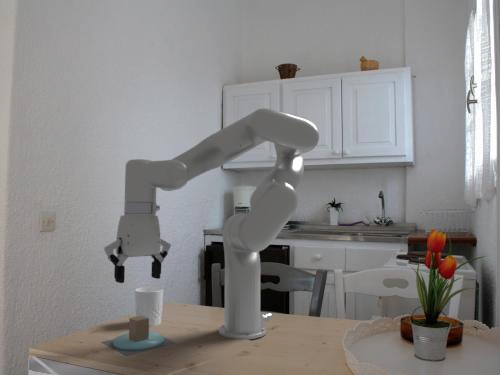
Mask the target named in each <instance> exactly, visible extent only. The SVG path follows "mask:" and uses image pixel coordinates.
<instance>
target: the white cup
mask: <svg viewBox="0 0 500 375" xmlns="http://www.w3.org/2000/svg"><path fill="white" fill-rule="evenodd" d="M134 300H135V301H134V302H135V303H134V305H135V317H137V316H144V317H147V318H149V327H155V326H158V325H160V324H162V315H163V302H164V288H163V287H161V286H143V287H137V288H135V289H134Z"/></svg>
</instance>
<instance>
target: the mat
mask: <svg viewBox="0 0 500 375" xmlns="http://www.w3.org/2000/svg"><path fill="white" fill-rule="evenodd" d="M149 332H151V331H150V330H149ZM114 339H115V338H113V339H108V340H104V341H103V340H102V341H101V343H102V344H104V345H105V346H107V347H110V348H111V349H113V350H115V351H117V352H118V353H120V354H122V355H124V356H126V357H129V356H132V355H137V354H139V353H140V354H141V353H144V352H147V351H148V352H149V351H152V350H155V349H159V348H162V347H166V346H170V345H174V344H177V342H176V341H174V340H171V339H168V338H167V337H164V342H163V344H161V345H160V346H157V347H155V348H151V349H146V350H139V351H126V350H119V349H117V348H115V347H114V346H113V340H114Z"/></svg>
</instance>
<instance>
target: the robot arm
mask: <svg viewBox="0 0 500 375" xmlns="http://www.w3.org/2000/svg"><path fill="white" fill-rule="evenodd" d="M319 140H320V132H319V130H318V128H317V126H316V125H315V124H314V123H313V122H311V121H309V120H307V119H305V118H301V117H298V116H295V115H291V114H288V113H286V112H285V113H284V112H282V111H278V110H276V109H275V110H274V109H270V108H258V109H256V110H255V111H253V112H251V113H250V114H247V115H246V116H244V117H242V118H239V119H238V120H237V121H235V122H233V123H231V124H229V125H228V126H225V127H224V128H222V129H219V130H218V131H216V132H214V133H212V134H211V135H209V136H207V137H206V138H204V139H202V140H201V141H199V143H197V144H196V145H195V146H194V145H193V147H191V148H190V149H188V150H186V151H184V152H183V153H180V154H179V155H177V156H175V157H174V158H171V159H167V160H151V159H141V158H140V159H138V158H136V159H129V160H128V161H126V164H125V176H124V202H123V203H124V210H123V212H124V214H122V215H120V217H119V221H118V226H117V232H116V237H115V241H113V242H111V243H110V244H108V245H106V246H104V248H103V250H104V252H105V254H106V256H107V259H108V260H109V261H110V262H111V263H112V265H114V275H113V277H114V280H115V283H119V284H124V283H125V274H126V273H125V265H123V264H124V263H125V262H126V260H127V259H128V258H139V257H151V258H152V260H153V261H152V262H151V276H150V277H151V278H153V279H157V280H159V279H161V274H162V263H163V262H164V261H165V258H166V257H167V255H168V252H169V251H170V249H171V243H169V242H167V241H165V240H164V239H162V238H161V225H160V220H159V216H158V215H157V212H159V211H160V209H161V208H160V207H161V206H160V205H157V188H159V189H160V190H162V191H165V192H172V191H176V190H181V189H182V188H183V187H185V186H186V184H187V183H188V182H190V181H192V180H193V179H195V178H197V177H199V176H200V175H203V174H205V173H207V172H209V171H212V170H215V169H217V168H220V167H222V166H223V165H226V164H228V163H229V162H232V161H233V160H235V159H237V158H239V157H241V156H242V155H244V154H245V153H247V152H249V151H251V150H252V149H255V148H257V147H258V146H260V145H261V144H263V143H265V142H270V143H272V144H273V143H274V150H275V154H276V162H275V164H274V166H273V167H272V168H271V170H270V172H268V174H267V175H266V176H265V178H264V179H263V180H262V182H261V183H260V184H259V185H258V186H257V187H256V188H255V189H254V191H253V192H252V194H251V195H250V199H249V206H250V209H249V211H248V212H247V213H246V212H240V213H235V214H233V215H231V216H230V217H229V218H228V219H227V220H226V221H225V223H224V225H223V228H222V244H223V251H224V252H223V253H224V324H223V325H221V326H219V328H218V334H219V335H220V336H223V337H225V338H228V339H229V338H230V339H237V340H254V339H255V340H256V339H260V338H262V337H263V336H266V334H267V327H266V326H265V325H264V324H265V322H269V321H272V320H273V314H272V313H271V312H268V313H264V314H263V313H261V258H260V257H261V255H260V252H261V251H264V250H265V249H266V248H268V247H269V246H270V245H271V244H272V243H273V241H274V240H275V239H276V238H277V236H278V235H279V234H280V233H281V231H282V229H284V227H285V226H286V224H287V223H288V222H289V221H290V219H291V218H292V216H293V215H294V213H295V211H296V209H297V206H298V194H297V192H296V188H298V185H299V184H300V183H301V181H302V179H303V177H304V174H305V162H304V155H303V154H305V153H309V152H311V151H313V150H314V149H315V148H316V147H317V146H318V143H319V142H320V141H319ZM161 247H162V250H161ZM114 250H115V253H116V255H115V253H114Z"/></svg>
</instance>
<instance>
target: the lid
mask: <svg viewBox="0 0 500 375" xmlns="http://www.w3.org/2000/svg"><path fill="white" fill-rule="evenodd" d="M128 320H129V322H128V324H129V325H128V327H129V328H128V331H129V332H128V333H124V334H121V335H119V336H116V337H114V338H113V339H114V340H113V346H114V347H115V348H117V349H119V350H126V351H139V350H146V349H151V348H155V347H157V346H160V345H161V344H163V342H164V338H165V336H164V335H163V334H161V333H159V332H155V331H150V326H149V318H147V317H144V316H137V317H136V316H132V317H129V319H128ZM149 331H150V332H149ZM155 349H156V348H155Z"/></svg>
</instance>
